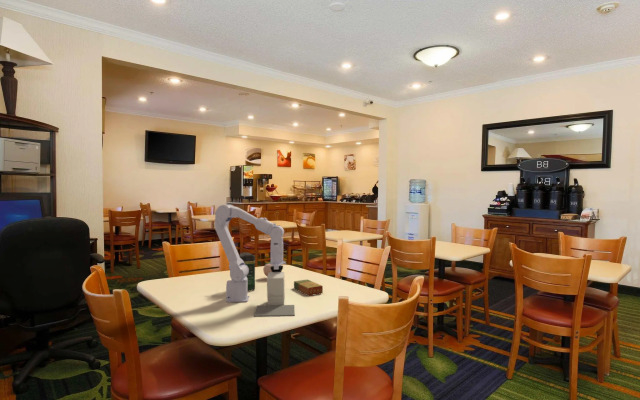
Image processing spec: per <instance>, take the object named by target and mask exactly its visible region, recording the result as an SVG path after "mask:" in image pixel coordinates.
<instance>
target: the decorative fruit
mask: <svg viewBox="0 0 640 400" xmlns="http://www.w3.org/2000/svg"><path fill="white" fill-rule="evenodd" d="M270 262H271V261H269V262H266V263H264V266H263V273H264V276H266V277H267V276H268V273H269V272H272V271H271V269H270V267H271V266H273V265H271V264H270Z"/></svg>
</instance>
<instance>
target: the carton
mask: <svg viewBox="0 0 640 400" xmlns="http://www.w3.org/2000/svg"><path fill="white" fill-rule="evenodd" d="M294 288H295V290H296V289H297V291H298V290H299V291H298V292H300V291H301V293H302V292H303V293H302V294H304V293H305V294H304V295H306V294H307V295H306V296H308V295H309V296H314V295H313V294H316V295H320V294H319V293H322V294H323V292H324V290H323V285H322V284H319V283H316V282H314V281H312V280H309V279H301V280H294V281H293V289H294Z"/></svg>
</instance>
